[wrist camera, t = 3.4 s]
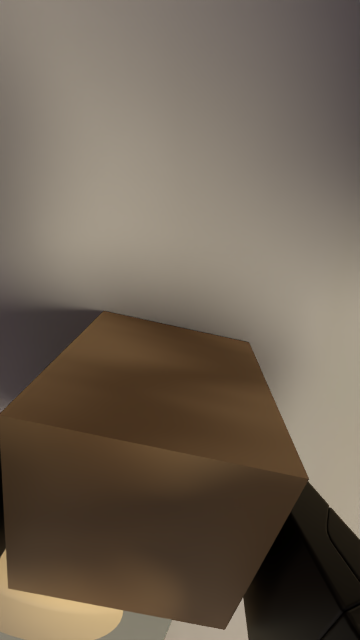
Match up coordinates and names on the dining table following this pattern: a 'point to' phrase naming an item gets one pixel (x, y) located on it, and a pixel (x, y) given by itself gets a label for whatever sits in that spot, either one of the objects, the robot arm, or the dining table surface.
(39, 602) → the coaster
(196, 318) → the dining table surface
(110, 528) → the cube
